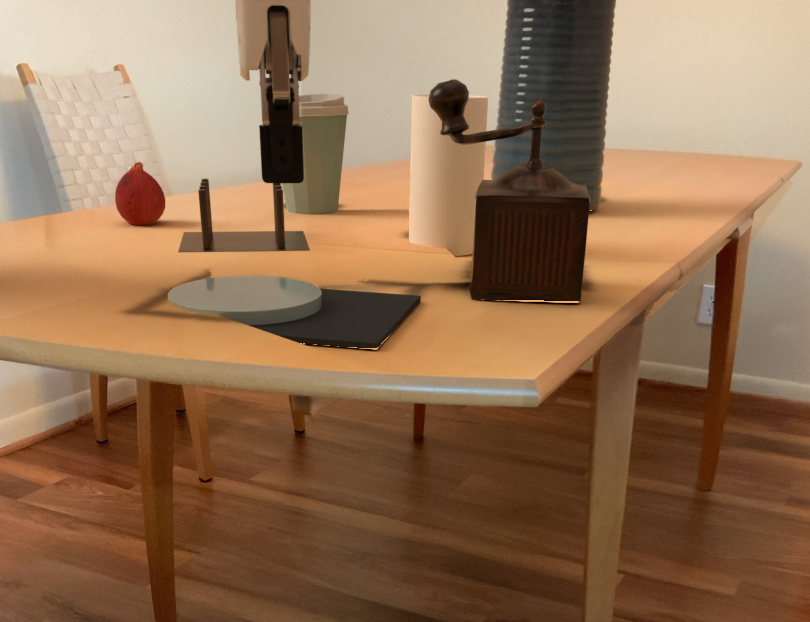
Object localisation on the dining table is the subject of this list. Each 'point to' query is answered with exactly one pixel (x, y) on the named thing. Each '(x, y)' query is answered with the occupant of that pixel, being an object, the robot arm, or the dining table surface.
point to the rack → (242, 240)
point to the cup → (444, 177)
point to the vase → (557, 86)
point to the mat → (349, 319)
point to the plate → (249, 298)
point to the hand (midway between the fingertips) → (282, 181)
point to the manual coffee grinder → (520, 215)
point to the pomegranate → (139, 197)
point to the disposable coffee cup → (319, 155)
